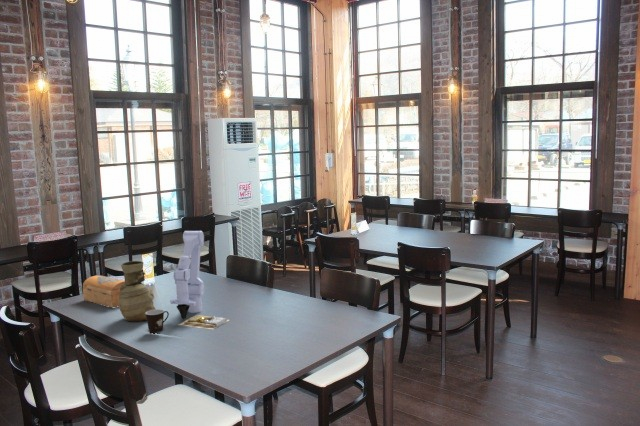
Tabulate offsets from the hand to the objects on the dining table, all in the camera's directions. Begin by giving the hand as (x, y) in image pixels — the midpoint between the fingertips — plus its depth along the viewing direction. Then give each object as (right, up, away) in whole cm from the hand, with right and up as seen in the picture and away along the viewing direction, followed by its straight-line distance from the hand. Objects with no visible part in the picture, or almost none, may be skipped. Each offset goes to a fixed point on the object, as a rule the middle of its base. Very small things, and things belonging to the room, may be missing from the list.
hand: (184, 318), depth 295 cm
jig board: (+11, -2, -5) cm, 12 cm away
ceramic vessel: (-26, -2, +8) cm, 27 cm away
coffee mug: (-9, -4, -13) cm, 16 cm away
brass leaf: (+8, -1, -3) cm, 9 cm away
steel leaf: (+17, -1, -7) cm, 19 cm away
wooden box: (-53, +2, +42) cm, 68 cm away
